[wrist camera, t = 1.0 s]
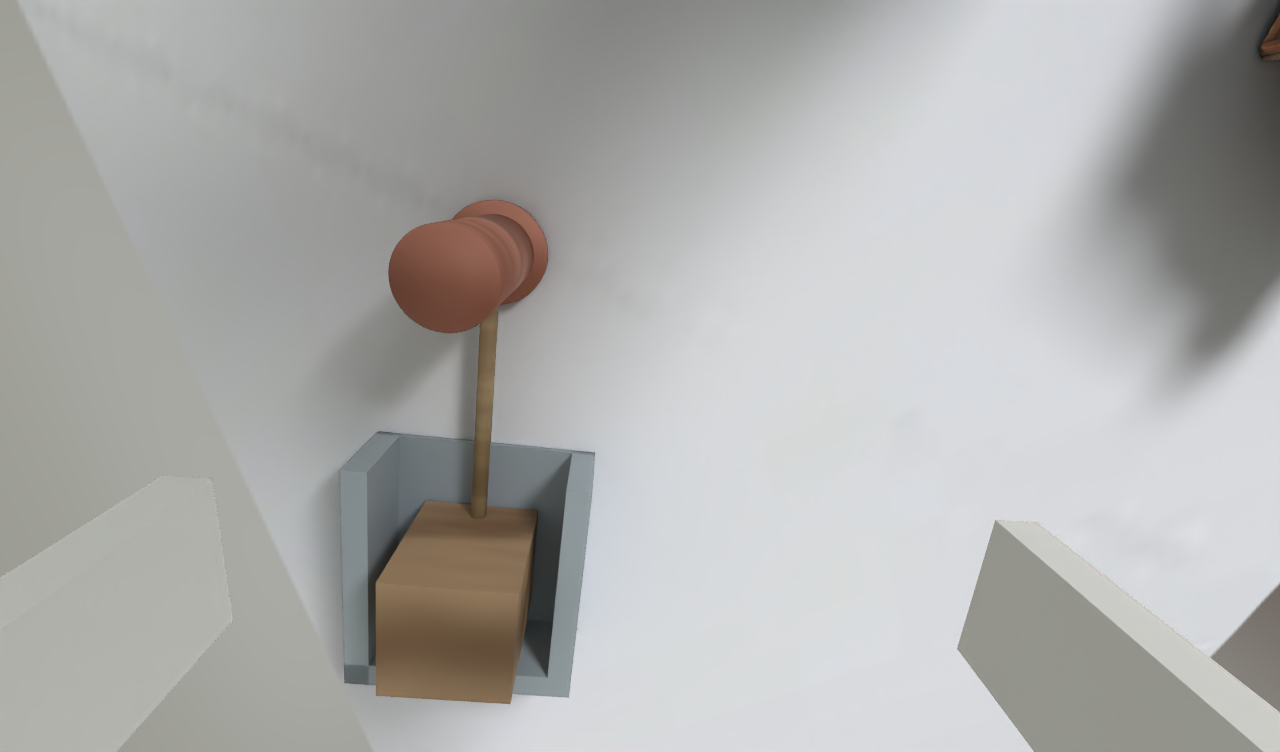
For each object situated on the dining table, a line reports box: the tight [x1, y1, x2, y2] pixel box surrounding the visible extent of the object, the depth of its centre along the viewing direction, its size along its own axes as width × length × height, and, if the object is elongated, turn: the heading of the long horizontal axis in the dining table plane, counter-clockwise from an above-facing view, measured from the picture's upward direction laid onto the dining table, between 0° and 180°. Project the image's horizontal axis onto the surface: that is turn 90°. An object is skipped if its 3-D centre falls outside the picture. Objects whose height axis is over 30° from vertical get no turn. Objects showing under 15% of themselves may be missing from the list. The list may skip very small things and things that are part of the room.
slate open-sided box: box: [339, 432, 595, 698], centre depth 31 cm, size 12×11×4 cm
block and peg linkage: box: [376, 200, 548, 704], centre depth 26 cm, size 22×6×9 cm, turn 173°
